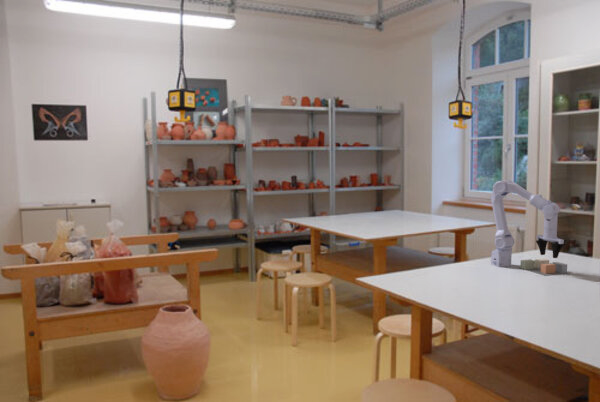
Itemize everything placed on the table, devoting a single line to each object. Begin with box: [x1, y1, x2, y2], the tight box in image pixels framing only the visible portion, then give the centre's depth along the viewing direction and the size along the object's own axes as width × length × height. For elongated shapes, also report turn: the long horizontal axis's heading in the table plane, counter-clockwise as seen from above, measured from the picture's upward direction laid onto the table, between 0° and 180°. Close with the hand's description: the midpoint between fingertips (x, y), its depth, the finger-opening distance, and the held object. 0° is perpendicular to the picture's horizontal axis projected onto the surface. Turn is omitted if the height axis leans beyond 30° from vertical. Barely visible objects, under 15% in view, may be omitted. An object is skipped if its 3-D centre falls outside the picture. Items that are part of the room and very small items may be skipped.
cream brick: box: [534, 258, 550, 269], centre depth 248 cm, size 6×3×4 cm, turn 108°
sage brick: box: [519, 259, 535, 270], centre depth 247 cm, size 6×3×4 cm, turn 108°
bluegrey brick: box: [552, 261, 568, 273], centre depth 240 cm, size 6×3×4 cm, turn 18°
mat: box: [519, 267, 571, 277], centre depth 242 cm, size 15×17×1 cm
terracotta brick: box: [541, 262, 556, 274], centre depth 238 cm, size 6×3×4 cm, turn 108°
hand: (548, 256), depth 237 cm, fingers open, 7 cm apart
